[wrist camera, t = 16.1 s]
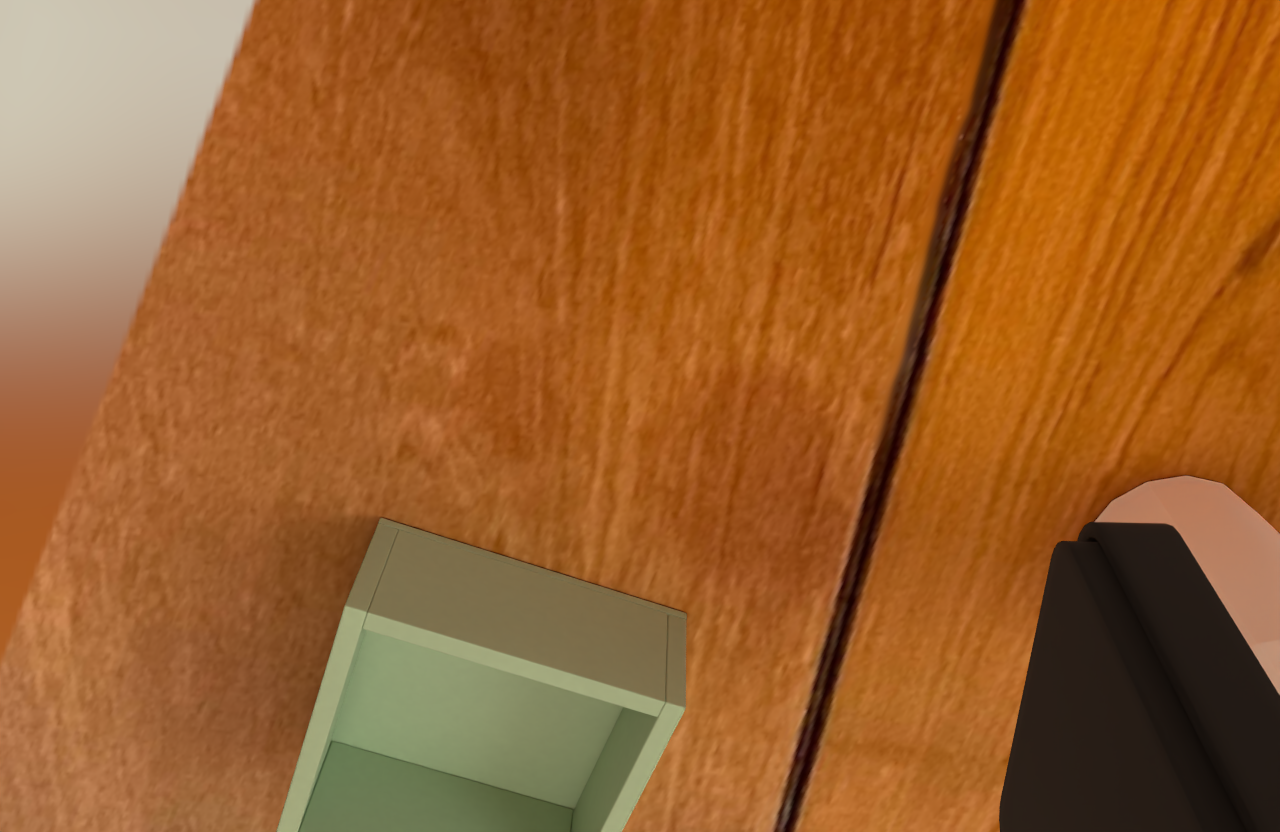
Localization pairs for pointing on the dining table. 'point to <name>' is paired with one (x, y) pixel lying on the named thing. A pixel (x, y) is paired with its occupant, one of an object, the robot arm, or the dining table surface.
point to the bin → (485, 697)
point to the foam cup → (1220, 551)
